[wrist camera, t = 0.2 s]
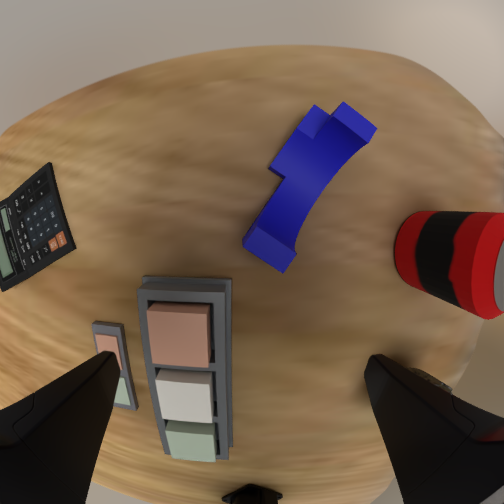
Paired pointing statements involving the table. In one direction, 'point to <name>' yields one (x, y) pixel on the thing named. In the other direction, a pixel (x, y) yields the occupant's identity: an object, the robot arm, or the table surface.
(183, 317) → the terracotta key
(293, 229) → the cable clip
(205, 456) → the sage key
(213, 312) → the keypad
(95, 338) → the strip
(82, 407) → the robot arm
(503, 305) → the soda can
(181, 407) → the cream key
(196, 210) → the table surface
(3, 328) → the table surface
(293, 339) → the table surface
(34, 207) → the calculator
